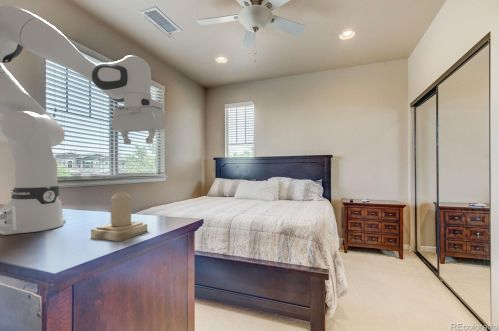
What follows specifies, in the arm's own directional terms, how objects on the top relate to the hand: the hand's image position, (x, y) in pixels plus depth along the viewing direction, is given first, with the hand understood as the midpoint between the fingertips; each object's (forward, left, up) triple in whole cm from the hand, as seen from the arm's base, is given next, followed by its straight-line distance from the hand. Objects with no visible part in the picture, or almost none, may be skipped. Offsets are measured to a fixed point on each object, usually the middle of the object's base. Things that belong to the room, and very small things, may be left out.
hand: (138, 143), depth 87 cm
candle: (+2, -10, -26) cm, 28 cm away
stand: (+2, -10, -29) cm, 31 cm away
